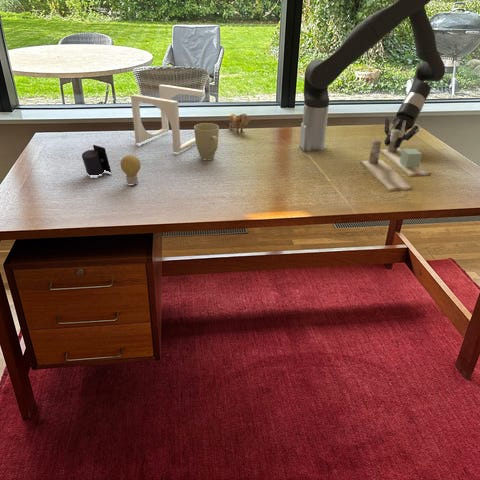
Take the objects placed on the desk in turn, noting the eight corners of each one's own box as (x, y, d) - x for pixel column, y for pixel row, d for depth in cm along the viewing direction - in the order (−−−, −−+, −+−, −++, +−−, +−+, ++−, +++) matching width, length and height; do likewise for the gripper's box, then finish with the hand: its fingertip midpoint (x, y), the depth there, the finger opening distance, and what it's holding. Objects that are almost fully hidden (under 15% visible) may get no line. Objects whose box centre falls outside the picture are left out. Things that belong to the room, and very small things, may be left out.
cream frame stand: (165, 131, 210) (161, 84, 200) (205, 139, 202) (203, 90, 192) (136, 146, 195) (130, 95, 184) (177, 154, 187) (174, 102, 176)
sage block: (406, 167, 173) (408, 154, 171) (399, 162, 178) (402, 149, 175) (419, 166, 174) (421, 153, 172) (412, 161, 178) (415, 148, 176)
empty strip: (389, 190, 159) (393, 165, 154) (360, 163, 179) (364, 139, 174) (412, 189, 160) (417, 163, 155) (381, 161, 180) (385, 138, 176)
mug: (190, 161, 181) (188, 129, 175) (201, 152, 189) (200, 121, 183) (216, 165, 178) (216, 133, 172) (227, 156, 186) (227, 125, 180)
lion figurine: (251, 134, 208) (252, 113, 203) (242, 137, 205) (242, 115, 200) (231, 125, 218) (231, 105, 213) (221, 128, 215) (221, 107, 210)
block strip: (409, 176, 169) (413, 152, 164) (379, 151, 189) (383, 129, 185) (430, 174, 170) (435, 150, 166) (399, 150, 190) (403, 128, 186)
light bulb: (145, 181, 165) (143, 153, 160) (136, 189, 160) (133, 160, 154) (129, 179, 166) (125, 151, 161) (119, 186, 161) (115, 158, 156)
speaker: (105, 168, 173) (98, 141, 167) (112, 174, 170) (106, 147, 163) (84, 175, 170) (77, 148, 164) (91, 182, 166) (84, 154, 160)
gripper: (392, 98, 188) (371, 136, 186) (427, 105, 180) (406, 145, 178) (396, 109, 194) (376, 146, 192) (430, 116, 186) (410, 155, 184)
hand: (390, 146), depth 185 cm, fingers closed on block strip, 3 cm apart
